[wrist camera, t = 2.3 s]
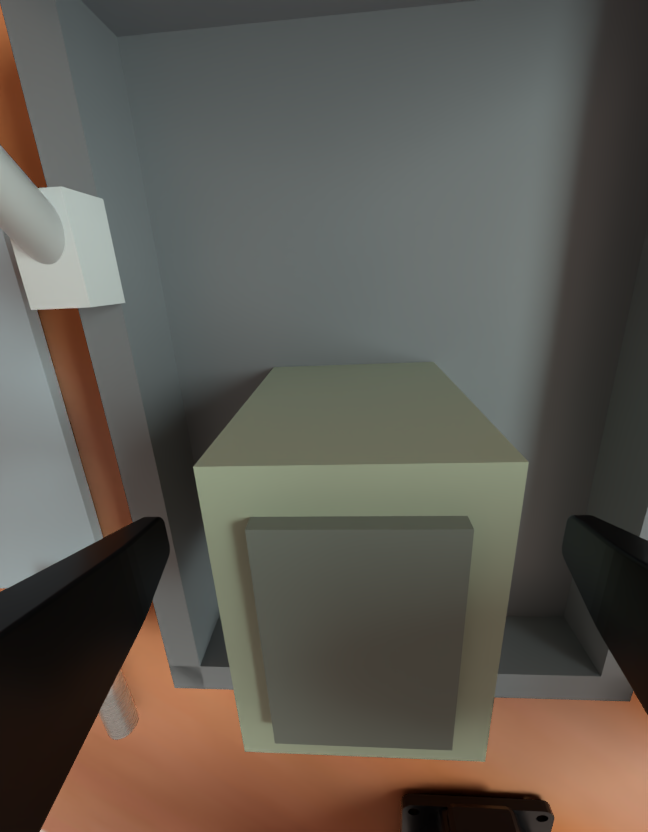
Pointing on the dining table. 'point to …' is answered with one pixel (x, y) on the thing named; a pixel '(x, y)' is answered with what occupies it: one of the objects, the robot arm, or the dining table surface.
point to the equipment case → (352, 251)
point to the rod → (119, 710)
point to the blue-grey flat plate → (35, 445)
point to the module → (362, 560)
